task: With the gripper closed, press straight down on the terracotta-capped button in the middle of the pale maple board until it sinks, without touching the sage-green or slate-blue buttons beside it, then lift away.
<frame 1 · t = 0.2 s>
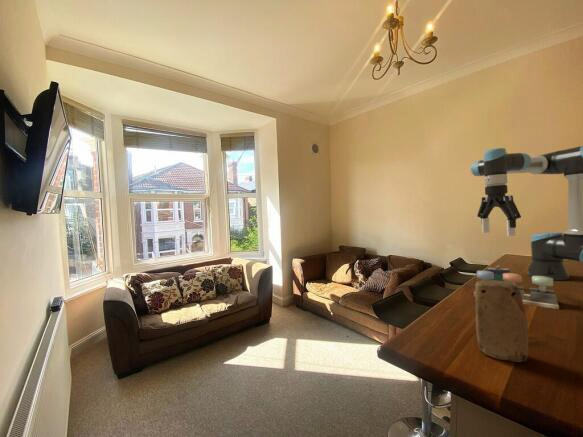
hand: (497, 234, 109), 27 cm above the worktop, fingers open, 13 cm apart
button board: (512, 298, 106), on the worktop
terracotta button: (512, 281, 105), point 7 cm above the worktop, slide at 0.0 cm
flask: (498, 287, 120), on the worktop
block: (501, 355, 69), on the worktop
slate button: (485, 278, 112), point 7 cm above the worktop, slide at 0.0 cm
sage button: (542, 285, 99), point 7 cm above the worktop, slide at 0.0 cm
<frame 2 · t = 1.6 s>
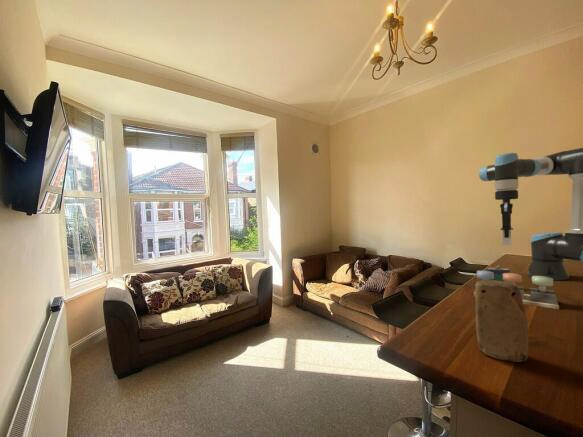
hand: (506, 244, 108), 22 cm above the worktop, fingers closed
nothing on the worktop moved.
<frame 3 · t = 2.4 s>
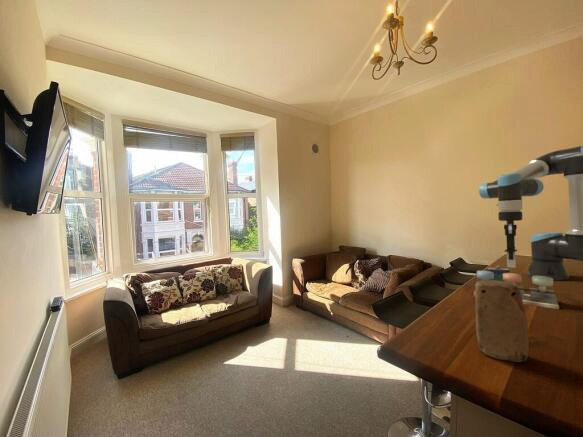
hand: (511, 266, 105), 14 cm above the worktop, fingers closed
nothing on the worktop moved.
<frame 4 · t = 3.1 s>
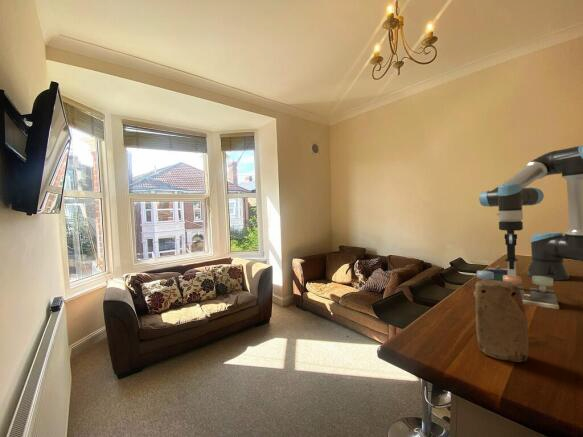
hand: (511, 276, 105), 10 cm above the worktop, fingers closed
terracotta button: (512, 283, 106), point 6 cm above the worktop, slide at 0.9 cm, touching gripper
everything else where it was.
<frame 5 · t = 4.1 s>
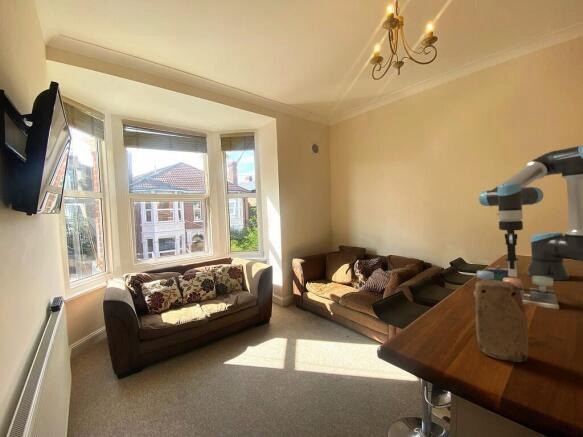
hand: (512, 275, 105), 10 cm above the worktop, fingers closed
terracotta button: (512, 286, 106), point 5 cm above the worktop, slide at 2.0 cm
everything else where it was.
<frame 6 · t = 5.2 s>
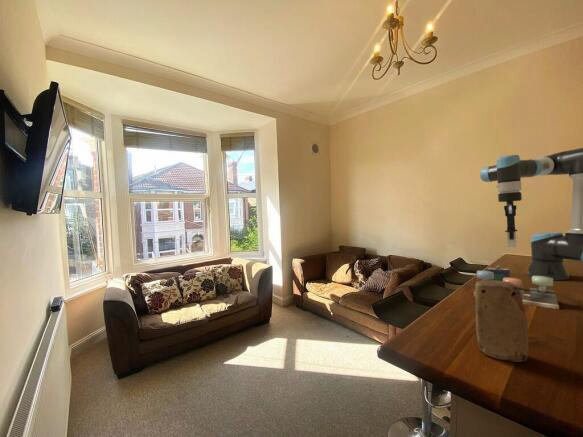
hand: (512, 246, 108), 22 cm above the worktop, fingers closed
nothing on the worktop moved.
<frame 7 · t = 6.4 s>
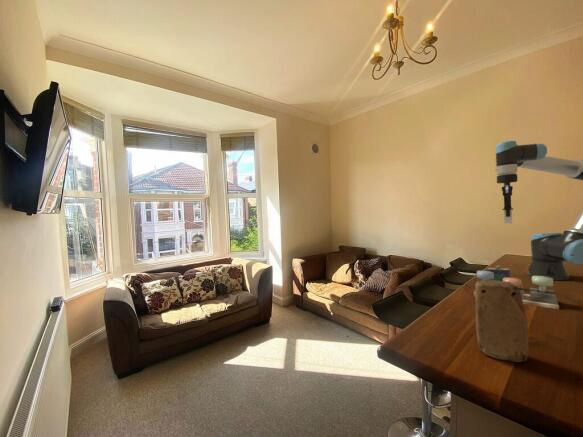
hand: (508, 223, 121), 30 cm above the worktop, fingers closed
nothing on the worktop moved.
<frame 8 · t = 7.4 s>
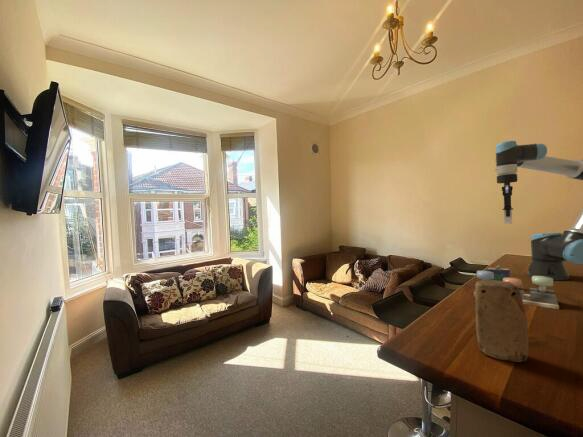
hand: (508, 223, 121), 30 cm above the worktop, fingers closed
nothing on the worktop moved.
at the end: terracotta button slide at 2.0 cm; sage button slide at 0.0 cm; slate button slide at 0.0 cm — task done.
